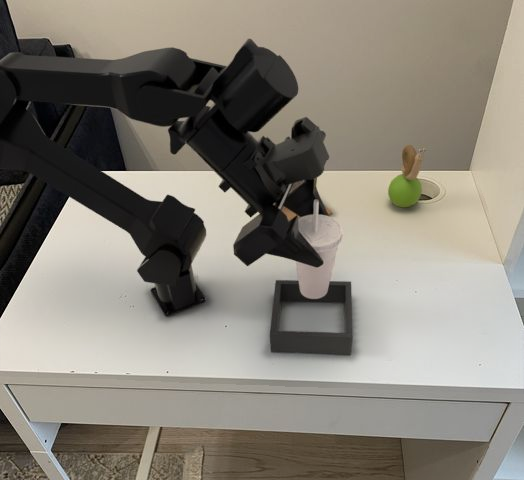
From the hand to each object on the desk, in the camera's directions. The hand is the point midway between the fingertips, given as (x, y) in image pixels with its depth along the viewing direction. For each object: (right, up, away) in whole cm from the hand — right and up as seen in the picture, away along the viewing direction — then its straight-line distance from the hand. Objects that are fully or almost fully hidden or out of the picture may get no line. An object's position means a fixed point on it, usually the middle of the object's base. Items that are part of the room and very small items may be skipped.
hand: (326, 248), depth 67 cm
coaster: (-2, +12, +28) cm, 30 cm away
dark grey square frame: (-1, -9, +9) cm, 13 cm away
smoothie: (-1, -5, +6) cm, 7 cm away
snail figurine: (+16, +12, +27) cm, 33 cm away
